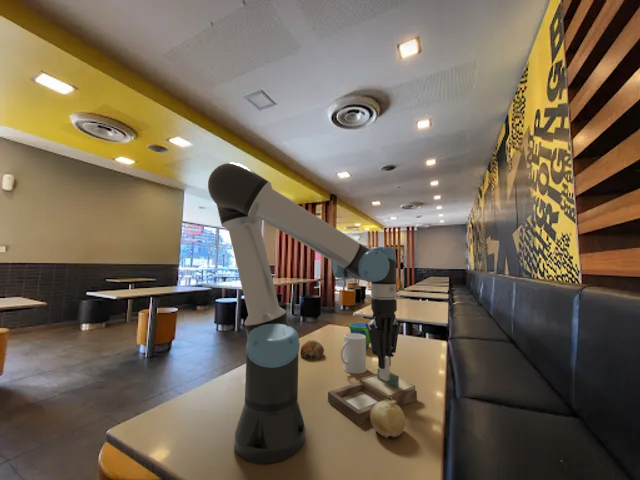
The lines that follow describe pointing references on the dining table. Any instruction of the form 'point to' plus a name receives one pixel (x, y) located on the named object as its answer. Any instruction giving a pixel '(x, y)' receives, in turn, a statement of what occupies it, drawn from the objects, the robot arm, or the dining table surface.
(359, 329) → the snack cup
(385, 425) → the onion
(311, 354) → the bread roll
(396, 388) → the cover
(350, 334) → the mug
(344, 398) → the brown sliding lid box
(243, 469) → the dining table surface
